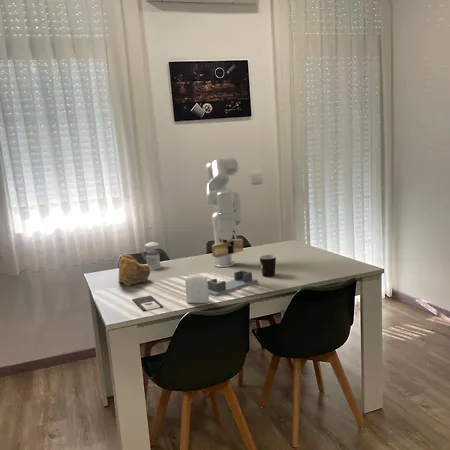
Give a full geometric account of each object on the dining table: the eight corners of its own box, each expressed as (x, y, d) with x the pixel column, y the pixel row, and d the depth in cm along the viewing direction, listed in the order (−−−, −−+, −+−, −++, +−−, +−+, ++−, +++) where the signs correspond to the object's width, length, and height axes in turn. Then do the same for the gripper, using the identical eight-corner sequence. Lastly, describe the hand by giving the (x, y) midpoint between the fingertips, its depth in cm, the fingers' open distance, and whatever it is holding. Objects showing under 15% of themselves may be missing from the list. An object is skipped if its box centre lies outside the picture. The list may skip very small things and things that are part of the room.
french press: (157, 269, 266) (153, 227, 262) (139, 269, 270) (135, 227, 265) (164, 265, 275) (161, 224, 271) (147, 264, 279) (143, 224, 275)
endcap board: (202, 292, 220) (201, 281, 219) (243, 278, 238) (243, 268, 237) (215, 296, 212) (215, 285, 212) (257, 281, 231) (257, 271, 230)
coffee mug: (276, 277, 236) (275, 258, 234) (259, 277, 238) (258, 259, 236) (278, 271, 247) (277, 253, 245) (262, 271, 249) (261, 253, 247)
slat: (212, 257, 223) (211, 244, 223) (238, 250, 235) (238, 238, 234) (216, 257, 221) (216, 245, 220) (243, 250, 233) (242, 239, 232)
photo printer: (209, 300, 208) (208, 274, 206) (208, 303, 204) (206, 276, 202) (187, 300, 210) (185, 274, 207) (185, 303, 205) (183, 277, 203)
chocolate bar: (150, 295, 219) (163, 306, 203) (150, 297, 219) (163, 308, 203) (132, 299, 215) (143, 310, 199) (132, 301, 215) (143, 312, 199)
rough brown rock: (151, 288, 235) (151, 259, 233) (118, 289, 231) (117, 260, 229) (148, 277, 257) (148, 251, 255) (118, 278, 253) (118, 252, 252)
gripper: (209, 216, 229) (211, 252, 232) (231, 218, 217) (234, 256, 220) (220, 214, 234) (222, 249, 237) (243, 216, 222) (245, 253, 225)
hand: (228, 252), depth 228 cm, fingers closed on slat, 3 cm apart
